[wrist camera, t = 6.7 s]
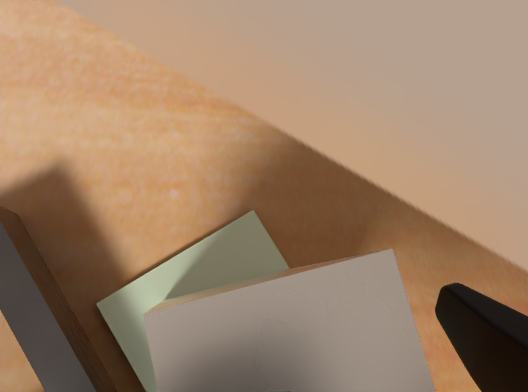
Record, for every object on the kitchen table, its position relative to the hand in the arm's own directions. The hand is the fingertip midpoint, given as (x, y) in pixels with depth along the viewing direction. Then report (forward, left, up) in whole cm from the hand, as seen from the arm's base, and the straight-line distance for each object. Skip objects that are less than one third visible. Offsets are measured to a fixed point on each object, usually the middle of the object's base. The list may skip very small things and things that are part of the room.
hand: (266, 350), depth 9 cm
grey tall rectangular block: (-1, 0, -7) cm, 7 cm away
